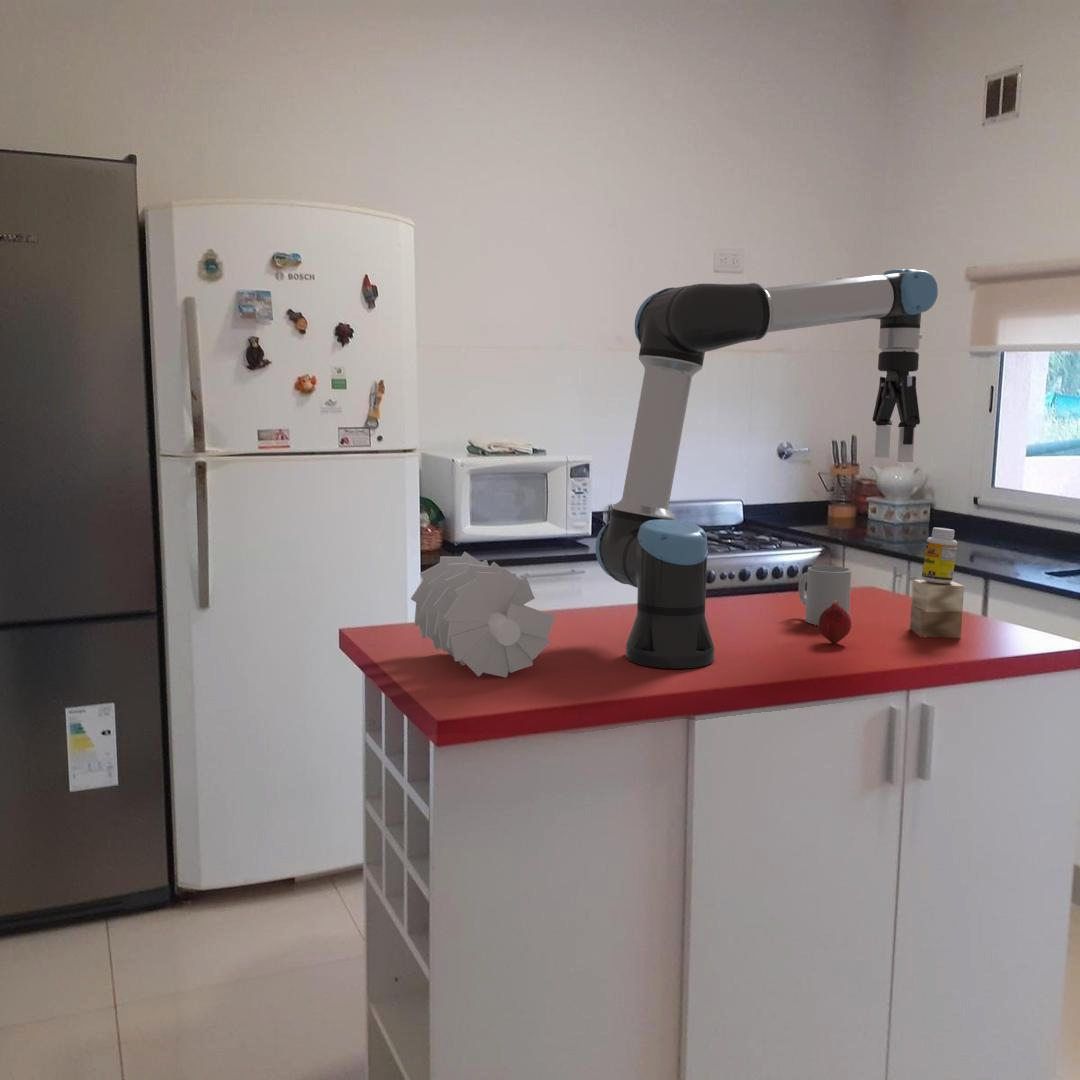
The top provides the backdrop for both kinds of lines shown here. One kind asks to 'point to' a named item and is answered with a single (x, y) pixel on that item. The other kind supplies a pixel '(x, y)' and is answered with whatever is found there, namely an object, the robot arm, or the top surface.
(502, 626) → the spiral staircase
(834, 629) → the onion
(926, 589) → the top block
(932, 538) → the supplement bottle
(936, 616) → the bottom block
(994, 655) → the top surface
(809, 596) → the mug
